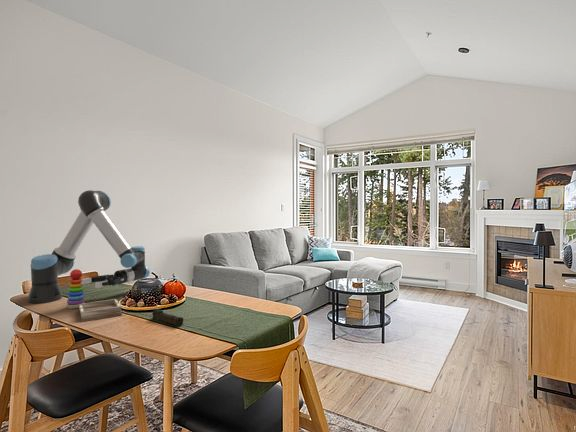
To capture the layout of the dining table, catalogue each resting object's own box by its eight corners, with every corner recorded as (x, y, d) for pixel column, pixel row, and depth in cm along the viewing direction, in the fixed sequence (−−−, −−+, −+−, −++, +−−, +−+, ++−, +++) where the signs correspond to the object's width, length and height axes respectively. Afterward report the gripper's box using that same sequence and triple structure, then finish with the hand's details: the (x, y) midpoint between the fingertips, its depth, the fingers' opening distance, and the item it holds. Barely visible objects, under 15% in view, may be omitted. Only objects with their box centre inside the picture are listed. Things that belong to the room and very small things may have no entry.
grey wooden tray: (79, 310, 172) (78, 302, 171) (115, 304, 180) (115, 297, 180) (81, 321, 155) (81, 313, 155) (121, 315, 164) (121, 307, 163)
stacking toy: (76, 309, 172) (75, 271, 171) (62, 308, 174) (61, 270, 173) (88, 305, 180) (87, 268, 179) (75, 304, 181) (74, 267, 181)
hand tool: (184, 325, 150) (183, 314, 150) (175, 328, 147) (175, 317, 147) (158, 317, 162) (158, 306, 162) (150, 319, 159) (150, 309, 159)
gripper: (139, 285, 194) (102, 294, 175) (109, 280, 206) (72, 288, 187) (138, 271, 194) (102, 279, 175) (109, 267, 205) (72, 274, 187)
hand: (87, 284), depth 181 cm, fingers open, 13 cm apart
